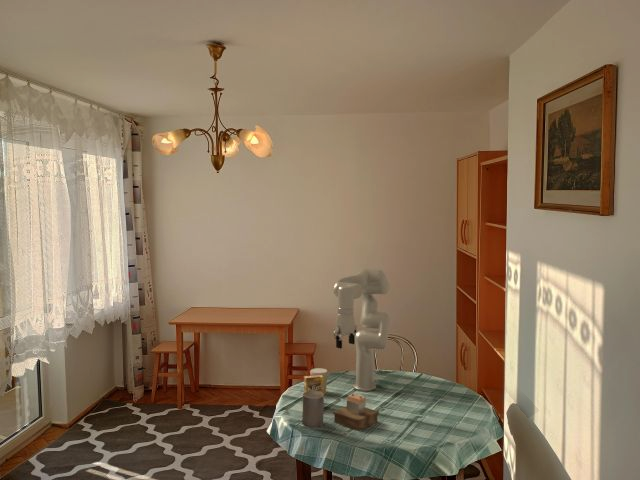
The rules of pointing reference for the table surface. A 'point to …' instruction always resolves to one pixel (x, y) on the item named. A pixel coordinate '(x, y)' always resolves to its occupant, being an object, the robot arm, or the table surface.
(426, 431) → the table surface
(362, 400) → the cover
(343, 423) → the walnut stand
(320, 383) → the candy box
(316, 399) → the pillar candle
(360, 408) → the housing base
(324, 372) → the coffee cup
